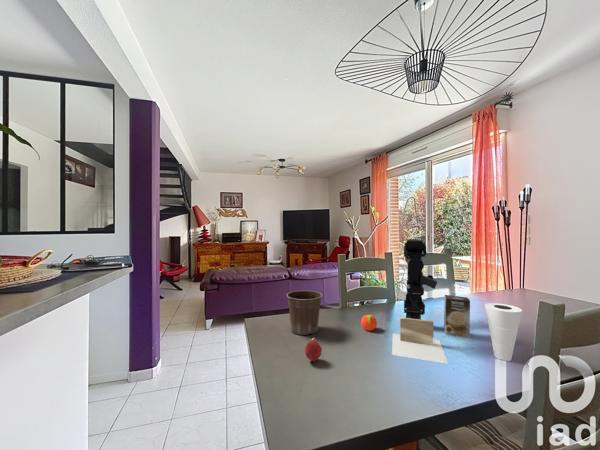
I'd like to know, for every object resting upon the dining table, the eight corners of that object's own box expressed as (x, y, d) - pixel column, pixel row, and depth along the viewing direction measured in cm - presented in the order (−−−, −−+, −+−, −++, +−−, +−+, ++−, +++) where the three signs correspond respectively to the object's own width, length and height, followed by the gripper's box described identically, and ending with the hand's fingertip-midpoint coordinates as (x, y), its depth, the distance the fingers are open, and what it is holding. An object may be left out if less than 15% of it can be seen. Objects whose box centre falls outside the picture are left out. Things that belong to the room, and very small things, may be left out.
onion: (316, 367, 87) (316, 343, 87) (301, 362, 90) (301, 339, 90) (324, 359, 92) (324, 337, 92) (310, 355, 95) (310, 333, 95)
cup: (477, 350, 99) (477, 302, 99) (506, 350, 99) (506, 302, 99) (498, 365, 89) (498, 312, 89) (530, 365, 88) (530, 312, 88)
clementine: (377, 335, 113) (377, 318, 113) (361, 333, 114) (361, 317, 114) (376, 328, 121) (376, 312, 121) (360, 326, 122) (360, 311, 122)
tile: (400, 339, 108) (400, 317, 108) (432, 343, 104) (432, 320, 104) (400, 340, 106) (400, 318, 106) (433, 345, 102) (433, 322, 102)
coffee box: (445, 335, 113) (445, 298, 113) (443, 330, 118) (443, 294, 119) (470, 339, 109) (470, 300, 109) (467, 333, 115) (467, 296, 115)
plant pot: (291, 322, 128) (291, 289, 128) (324, 324, 125) (324, 290, 125) (282, 335, 112) (282, 298, 112) (319, 339, 109) (319, 300, 109)
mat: (392, 334, 114) (392, 333, 114) (439, 340, 107) (439, 339, 107) (391, 356, 95) (391, 354, 95) (448, 365, 88) (448, 363, 88)
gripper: (438, 273, 100) (438, 314, 100) (433, 267, 117) (433, 302, 117) (406, 271, 104) (406, 311, 104) (406, 266, 122) (406, 300, 121)
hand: (414, 306), depth 111 cm, fingers open, 9 cm apart
